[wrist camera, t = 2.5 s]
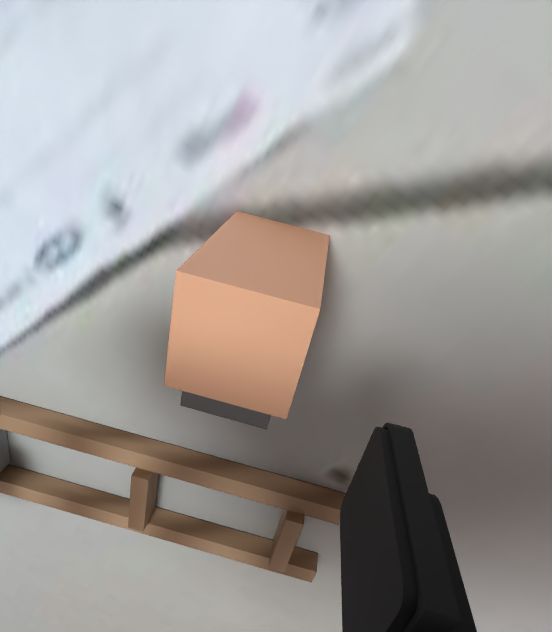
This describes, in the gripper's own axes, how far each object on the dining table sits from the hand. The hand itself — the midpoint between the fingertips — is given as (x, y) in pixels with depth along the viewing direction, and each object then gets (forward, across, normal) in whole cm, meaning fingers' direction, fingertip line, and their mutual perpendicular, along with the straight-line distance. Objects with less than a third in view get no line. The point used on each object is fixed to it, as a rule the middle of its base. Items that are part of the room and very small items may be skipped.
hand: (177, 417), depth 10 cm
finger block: (+10, -1, -1) cm, 10 cm away
